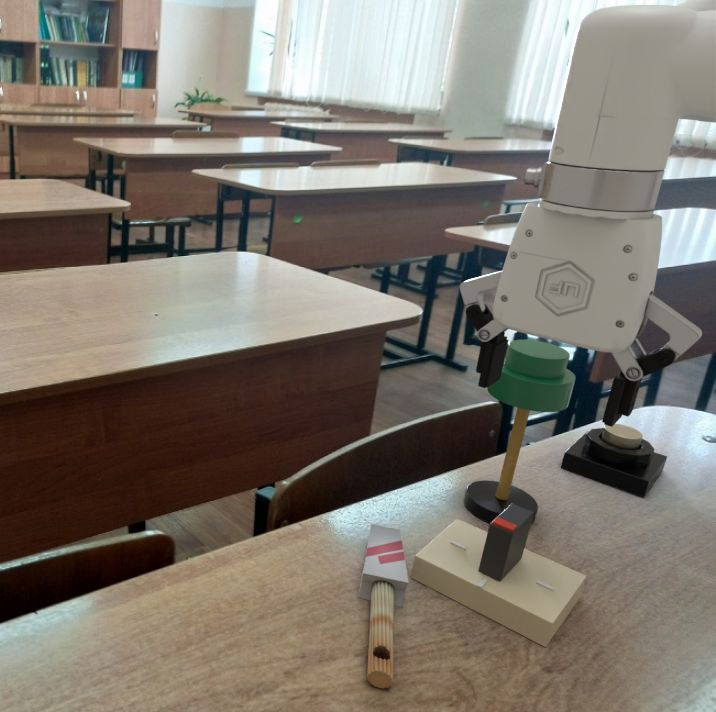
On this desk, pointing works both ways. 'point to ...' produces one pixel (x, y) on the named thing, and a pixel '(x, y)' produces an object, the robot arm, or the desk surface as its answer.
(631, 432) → the button
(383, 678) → the paintbrush
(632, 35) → the robot arm
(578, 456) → the lamp switch
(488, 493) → the desk lamp
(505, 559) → the dimmer knob
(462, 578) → the dimmer
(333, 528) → the desk surface
